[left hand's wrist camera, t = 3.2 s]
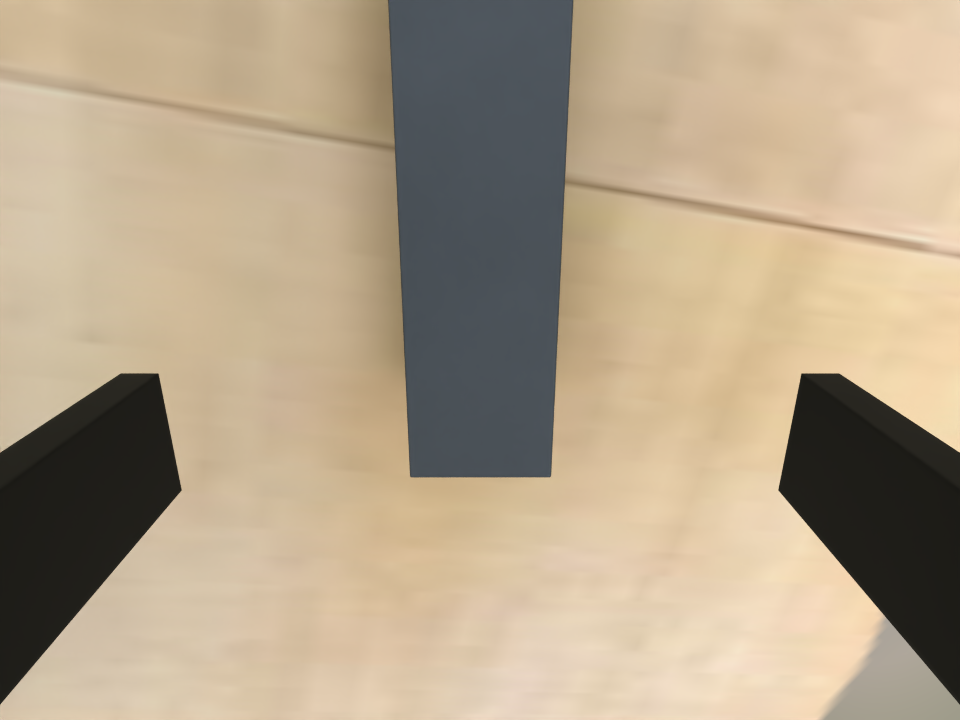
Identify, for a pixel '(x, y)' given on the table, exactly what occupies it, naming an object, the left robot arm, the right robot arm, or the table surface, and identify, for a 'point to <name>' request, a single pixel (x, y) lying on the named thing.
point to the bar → (480, 227)
